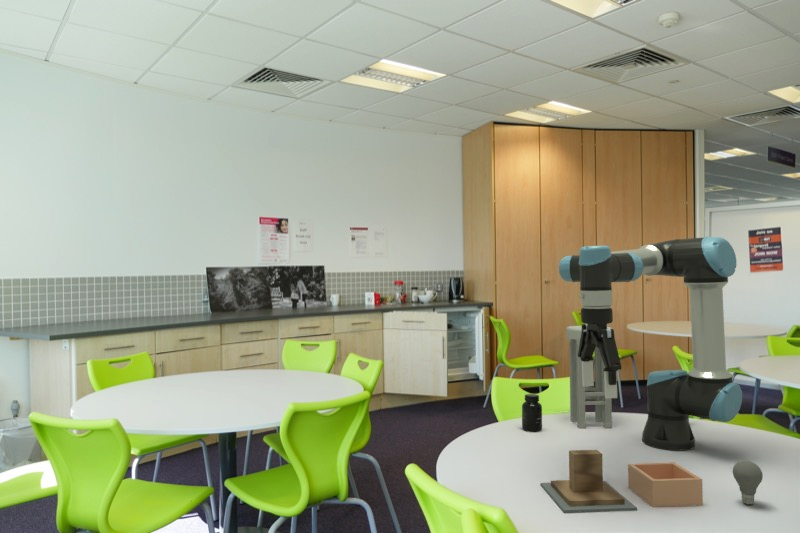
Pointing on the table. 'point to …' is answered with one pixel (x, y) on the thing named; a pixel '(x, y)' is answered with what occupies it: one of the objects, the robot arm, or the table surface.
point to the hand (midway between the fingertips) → (599, 391)
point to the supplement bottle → (532, 413)
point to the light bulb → (747, 479)
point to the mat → (595, 508)
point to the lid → (586, 481)
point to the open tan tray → (665, 484)
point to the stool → (578, 391)
